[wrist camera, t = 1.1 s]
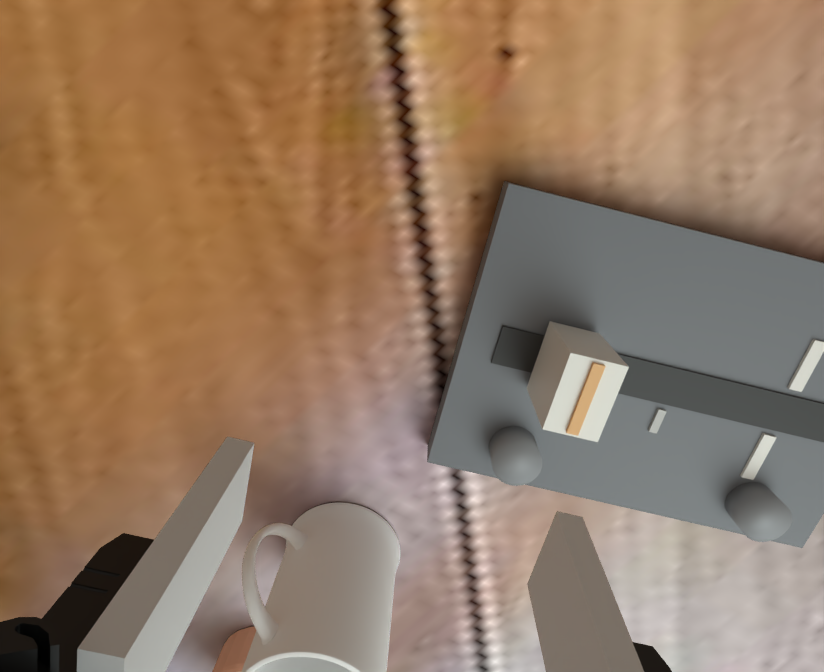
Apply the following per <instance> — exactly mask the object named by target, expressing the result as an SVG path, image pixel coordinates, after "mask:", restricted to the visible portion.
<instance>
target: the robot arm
mask: <svg viewBox="0 0 824 672" xmlns="http://www.w3.org/2000/svg"><path fill="white" fill-rule="evenodd" d="M253 449H254V443H253V442H249V441H245V440H240V439H236V438H231V437H227V438H226V439H225V441H224V442H223V444H222V445H221V446H220V448H219V449H218V451H217V452H216V453H215V455H214V456H213V458H212V459H211V461H210V462H209V463H208V465H207V466H206V468H205V469H204V470H203V472H202V473H201V475H200V476H199V477H198V479H197V480H196V482H195V483H194V485H193V486H192V487H191V489H190V490H189V492H188V493H187V494H186V496H185V497H184V499H183V500H182V502H181V503H180V504H179V506H178V507H177V509H176V510H175V511H174V513H173V514H172V516H171V517H170V518H169V520H168V521H167V523H166V524H165V526H164V527H163V528H162V530H161V531H160V533H159V534H158V535H157V537H156V538H155V540H152V539H148V538H143V537H139V536H134V535H129V534H125V533H123V534H121V535H120V536H118V537H117V538H115V539H114V540H112V541H110V542H109V543H107V544H106V545H104V546H103V547H101V548H100V549H99V550H98V552H97V553H96V554H95V555H94V556H93V558H92V559H91V560H90V561H89V562H88V564H87V565H86V566H85V568H84V570H83V571H81V572H80V573H79V574H78V576H77V577H76V578H75V579H74V581H73V582H72V584H71V586H70V587H68V588H67V589H66V590H65V591H64V593H63V594H62V595H61V596H60V597H59V599H58V600H57V601H56V602H55V604H54V605H53V606H52V607H51V608H50V610H49V611H48V612H47V613H46V614H45V616H44V617H43V618H42V619H40V618H37V617H18V618H14V619H10V620H7V621H3V622H0V672H166V670H167V668H168V666H169V664H170V662H171V660H172V658H173V656H174V654H175V652H176V650H177V648H178V646H179V644H180V642H181V640H182V638H183V636H184V634H185V632H186V630H187V628H188V627H189V625H190V623H191V621H192V619H193V617H194V615H195V613H196V611H197V609H198V607H199V605H200V603H201V601H202V599H203V597H204V595H205V593H206V591H207V589H208V587H209V585H210V583H211V581H212V579H213V577H214V575H215V574H216V572H217V570H218V568H219V566H220V564H221V562H222V560H223V558H224V556H225V554H226V552H227V550H228V548H229V546H230V544H231V542H232V540H233V538H234V536H235V534H236V532H237V530H238V528H239V526H240V524H241V522H242V519H243V513H244V506H245V500H246V493H247V487H248V481H249V474H250V468H251V462H252V455H253ZM528 589H529V594H530V598H531V603H532V608H533V613H534V617H535V622H536V627H537V631H538V636H539V641H540V645H541V650H542V655H543V659H544V664H545V669H546V672H672V671H671V669H670V668H669V666H668V665H667V664H666V663H665V661H664V660H663V659H662V658H661V656H660V655H659V654H658V653H657V651H656V650H655V649H654V648H653V646H648V645H643V644H639V643H634V642H632V640H631V637H630V635H629V632H628V630H627V627H626V625H625V622H624V620H623V617H622V615H621V612H620V610H619V607H618V605H617V602H616V600H615V597H614V595H613V592H612V590H611V587H610V585H609V582H608V580H607V577H606V575H605V572H604V570H603V567H602V565H601V562H600V560H599V557H598V555H597V552H596V550H595V547H594V545H593V542H592V540H591V537H590V535H589V532H588V530H587V527H586V525H585V522H584V520H583V517H580V516H576V515H571V514H567V513H562V512H558V511H557V512H556V515H555V517H554V519H553V522H552V524H551V527H550V529H549V532H548V534H547V537H546V539H545V542H544V544H543V547H542V549H541V552H540V554H539V556H538V559H537V561H536V564H535V566H534V569H533V571H532V574H531V576H530V579H529V581H528Z"/></svg>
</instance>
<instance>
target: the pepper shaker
mask: <svg viewBox="0 0 824 672" xmlns="http://www.w3.org/2000/svg"><path fill="white" fill-rule="evenodd" d="M255 633H256V628H255V627H248V628H245V629H241V630H238V631H237V632H235V633H234V634H233V635H231V636H230V637H229V638H228V639H227V641H226V642H225V644H224V645H223V648H222V650H221V652H220V655H219V657H218V660H217V662H216V664H215V667H214V669H213V671H212V672H242V669H243V666H244V663H245V661H246V658H247V655H248V652H249V650H250V647H251V644H252V641H253V639H254V636H255Z"/></svg>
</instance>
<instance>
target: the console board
mask: <svg viewBox="0 0 824 672" xmlns="http://www.w3.org/2000/svg"><path fill="white" fill-rule="evenodd" d="M550 321H551V322H555V323H559V324H563V325H567V326H572V327H576V328H580V329H584V330H588V331H592V332H596V333H600V335H601V336H602V337H603V338H604V339H605V340H606V341H607V343H608V344H609V345H610V346H611V347H612V348H613V349H614V350H615V352H616V353H617V354H618V355H619V356H620V357H621V358H622V359H623V361H624V362H625V363H626V364H627V365H628V366H629V368H628V371H627V373H626V375H625V378H624V380H623V383H622V385H621V387H620V390H619V392H618V395H617V397H616V400H615V402H614V404H613V407H612V409H611V412H610V414H609V416H608V419H607V421H606V424H605V426H604V428H603V431H602V433H601V436H600V438H599V440H598V442H594V441H590V440H586V439H581V438H577V437H573V436H569V435H564V434H560V433H556V432H552V431H547V430H543V429H542V427H541V424H540V422H539V419H538V417H537V414H536V411H535V409H534V406H533V404H532V401H531V398H530V396H529V393H528V391H527V385H528V382H529V380H530V377H531V374H532V371H533V368H534V365H535V362H536V359H537V357H538V354H539V351H540V348H541V345H542V342H543V339H544V336H545V334H546V331H547V328H548V325H549V322H550ZM427 462H429V463H433V464H438V465H442V466H447V467H451V468H455V469H460V470H464V471H468V472H473V473H477V474H482V475H486V476H490V477H495V478H498V479H499V480H501V481H502V482H504V483H506V484H509V485H515V486H518V485H524V484H525V485H530V486H534V487H538V488H543V489H547V490H551V491H556V492H560V493H564V494H569V495H573V496H578V497H582V498H586V499H591V500H595V501H599V502H604V503H608V504H613V505H617V506H621V507H626V508H630V509H634V510H639V511H643V512H647V513H652V514H656V515H661V516H665V517H669V518H674V519H678V520H682V521H687V522H691V523H695V524H700V525H704V526H709V527H713V528H717V529H722V530H726V531H730V532H735V533H739V534H744V535H746V536H747V537H748V538H749V539H751V540H754V541H758V542H766V541H774V542H778V543H783V544H787V545H792V546H796V547H800V548H803V546H804V544H805V543H806V541H807V539H808V538H809V536H810V535H811V533H812V531H813V530H814V528H815V527H816V525H817V523H818V522H819V520H820V518H821V517H822V515H823V514H824V262H820V261H816V260H812V259H808V258H805V257H801V256H797V255H793V254H789V253H785V252H781V251H777V250H773V249H769V248H765V247H761V246H757V245H754V244H750V243H746V242H742V241H738V240H734V239H730V238H726V237H722V236H718V235H714V234H710V233H706V232H702V231H699V230H695V229H691V228H687V227H683V226H679V225H675V224H671V223H667V222H663V221H659V220H655V219H651V218H647V217H644V216H640V215H636V214H632V213H628V212H624V211H620V210H616V209H612V208H608V207H604V206H600V205H596V204H592V203H589V202H585V201H581V200H577V199H573V198H569V197H565V196H561V195H557V194H553V193H549V192H545V191H541V190H537V189H534V188H530V187H526V186H522V185H518V184H514V183H510V182H506V181H504V183H503V187H502V190H501V194H500V197H499V201H498V204H497V208H496V211H495V215H494V218H493V221H492V225H491V228H490V232H489V235H488V239H487V242H486V246H485V249H484V253H483V256H482V260H481V263H480V266H479V270H478V273H477V277H476V280H475V284H474V287H473V291H472V294H471V298H470V301H469V305H468V308H467V311H466V315H465V318H464V322H463V325H462V329H461V332H460V336H459V339H458V343H457V346H456V350H455V353H454V356H453V360H452V363H451V367H450V370H449V374H448V377H447V381H446V384H445V388H444V391H443V395H442V398H441V401H440V405H439V408H438V412H437V415H436V419H435V422H434V426H433V429H432V433H431V436H430V440H429V443H428V456H427Z"/></svg>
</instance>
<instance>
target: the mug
mask: <svg viewBox="0 0 824 672" xmlns="http://www.w3.org/2000/svg"><path fill="white" fill-rule="evenodd" d="M268 535H278V536H281V537H283V538H285V539H286V550H285V553H284V556H283V559H282V562H281V565H280V567H279V570H278V573H277V576H276V578H275V581H274V584H273V587H272V589H271V592H270V595H269V598H268V600H267V603H266V606H264V604H263V602H262V600H261V597H260V594H259V591H258V587H257V582H256V574H255V559H256V553H257V549H258V546H259V544H260V542H261V541H262V539H263V538H264V537H265V536H268ZM399 561H400V545H399V541H398V538H397V536H396V534H395V532H394V530H393V529H392V527H391V526H390V525H389V523H388V522H387V521H386V520H385V519H383V518H382V517H381V516H380V515H378V514H377V513H375V512H374V511H372V510H370V509H368V508H365V507H363V506H360V505H356V504H351V503H340V502H338V503H328V504H323V505H319V506H317V507H314V508H312V509H310V510H308V511H306V512H305V513H304V514H302V515H301V516H300V517H299V518H298V519H297V520H296V521H295V522H294V524H293V525H292V526H291V525H288V524H284V523H274V524H270V525H267V526H265V527H263V528H262V529H260V530H259V531H258V532H257V533H256V534H255V535H254V536H253V537H252V539H251V540H250V542H249V544H248V546H247V548H246V551H245V554H244V558H243V565H242V586H243V593H244V598H245V603H246V606H247V609H248V612H249V615H250V618H251V620H252V622H253V624H254V626H255V628H256V633H255V636H254V639H253V641H252V644H251V647H250V650H249V652H248V655H247V658H246V661H245V663H244V666H243V669H242V672H387V661H388V650H389V639H390V627H391V616H392V605H393V594H394V583H395V574H396V571H397V568H398V565H399Z"/></svg>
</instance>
